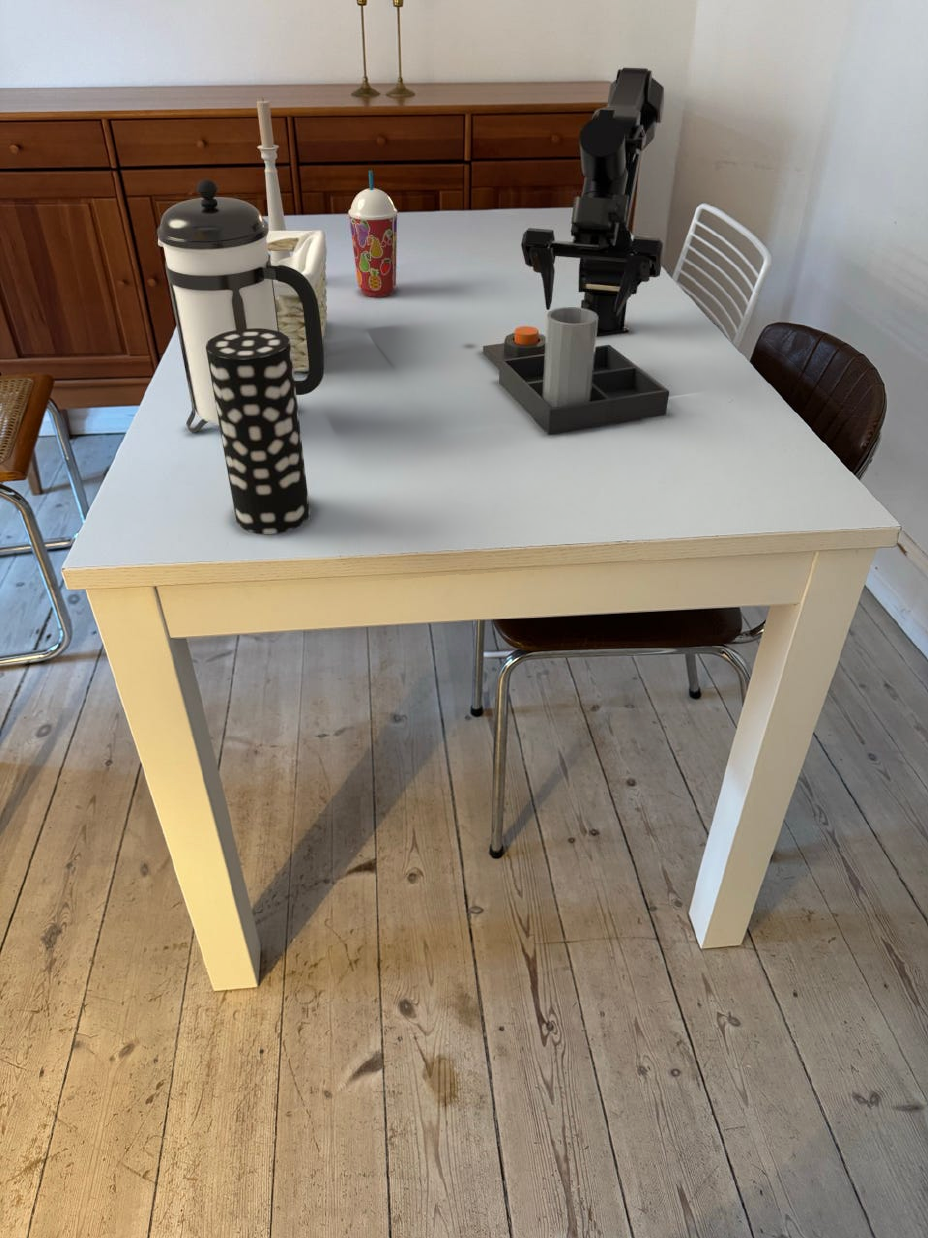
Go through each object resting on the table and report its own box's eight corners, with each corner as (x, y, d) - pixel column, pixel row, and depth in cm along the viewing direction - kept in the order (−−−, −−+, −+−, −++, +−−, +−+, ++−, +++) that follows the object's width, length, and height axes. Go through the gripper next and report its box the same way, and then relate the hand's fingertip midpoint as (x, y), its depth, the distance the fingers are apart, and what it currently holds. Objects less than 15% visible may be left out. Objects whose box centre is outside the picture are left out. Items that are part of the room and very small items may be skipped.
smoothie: (407, 287, 166) (403, 167, 154) (390, 301, 160) (383, 178, 148) (365, 282, 169) (358, 163, 156) (346, 296, 162) (337, 174, 150)
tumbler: (559, 396, 127) (565, 303, 120) (598, 409, 124) (607, 314, 116) (532, 412, 124) (537, 316, 116) (572, 425, 120) (579, 328, 112)
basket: (239, 320, 153) (225, 227, 144) (336, 319, 153) (328, 227, 144) (211, 378, 134) (192, 276, 125) (322, 377, 134) (311, 275, 125)
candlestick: (241, 278, 170) (215, 94, 152) (308, 269, 174) (290, 90, 156) (257, 299, 161) (231, 106, 143) (327, 290, 165) (311, 101, 147)
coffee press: (199, 458, 114) (149, 202, 96) (177, 407, 126) (129, 170, 108) (332, 433, 120) (309, 187, 101) (299, 387, 131) (274, 158, 113)
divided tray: (607, 367, 138) (609, 344, 135) (666, 414, 125) (669, 390, 122) (498, 383, 133) (499, 359, 131) (548, 434, 120) (549, 409, 118)
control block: (547, 344, 145) (548, 326, 143) (569, 363, 139) (570, 344, 137) (482, 353, 142) (483, 334, 140) (501, 373, 136) (502, 353, 134)
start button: (532, 335, 140) (533, 324, 139) (541, 344, 138) (542, 332, 137) (510, 338, 139) (511, 327, 138) (519, 347, 137) (520, 335, 136)
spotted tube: (240, 497, 107) (211, 329, 95) (311, 494, 107) (292, 327, 95) (231, 535, 100) (200, 360, 88) (308, 532, 101) (286, 357, 89)
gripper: (527, 162, 118) (505, 275, 117) (672, 171, 115) (651, 288, 113) (536, 211, 129) (516, 315, 128) (669, 221, 125) (650, 328, 124)
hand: (581, 311), depth 123 cm, fingers open, 9 cm apart
